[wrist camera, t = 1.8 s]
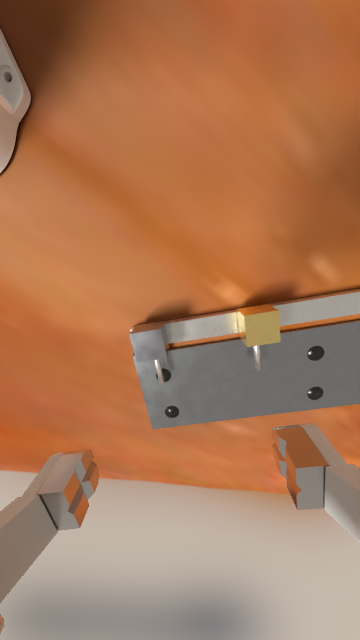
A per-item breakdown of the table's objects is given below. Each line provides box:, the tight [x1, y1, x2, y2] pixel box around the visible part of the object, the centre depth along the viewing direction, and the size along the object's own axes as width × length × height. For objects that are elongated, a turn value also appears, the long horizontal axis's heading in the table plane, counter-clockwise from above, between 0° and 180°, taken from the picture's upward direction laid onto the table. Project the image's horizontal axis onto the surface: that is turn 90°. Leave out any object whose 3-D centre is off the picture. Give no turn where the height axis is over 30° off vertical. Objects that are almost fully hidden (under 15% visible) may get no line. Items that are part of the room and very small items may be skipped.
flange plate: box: [133, 320, 360, 429], centre depth 31 cm, size 14×36×1 cm, turn 100°
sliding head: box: [237, 304, 281, 370], centre depth 26 cm, size 9×4×4 cm, turn 10°
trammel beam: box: [129, 289, 360, 384], centre depth 27 cm, size 9×34×5 cm, turn 100°
